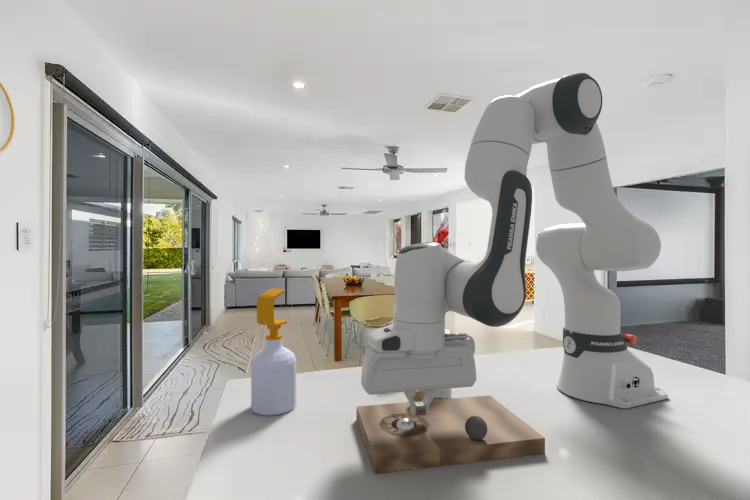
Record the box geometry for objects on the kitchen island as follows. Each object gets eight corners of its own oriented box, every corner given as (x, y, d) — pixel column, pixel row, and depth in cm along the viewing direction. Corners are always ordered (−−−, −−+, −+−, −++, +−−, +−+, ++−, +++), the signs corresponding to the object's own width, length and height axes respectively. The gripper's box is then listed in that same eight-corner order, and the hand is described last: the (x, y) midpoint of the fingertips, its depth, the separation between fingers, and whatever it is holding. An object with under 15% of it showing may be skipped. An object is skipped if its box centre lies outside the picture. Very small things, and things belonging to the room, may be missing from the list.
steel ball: (415, 418, 68) (398, 411, 67) (421, 427, 65) (403, 420, 64) (406, 436, 68) (389, 429, 67) (412, 446, 64) (394, 440, 64)
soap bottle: (304, 402, 81) (304, 288, 81) (276, 420, 73) (276, 292, 73) (271, 395, 85) (271, 286, 85) (241, 411, 77) (241, 290, 77)
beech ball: (425, 400, 76) (425, 380, 76) (432, 409, 72) (432, 388, 72) (406, 402, 75) (406, 382, 75) (412, 410, 71) (412, 389, 71)
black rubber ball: (481, 432, 63) (481, 411, 63) (491, 443, 60) (491, 420, 60) (461, 434, 62) (461, 413, 62) (470, 445, 59) (470, 422, 59)
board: (489, 407, 79) (489, 395, 79) (544, 453, 61) (544, 437, 61) (356, 419, 73) (356, 406, 73) (374, 473, 56) (374, 456, 56)
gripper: (467, 328, 72) (466, 401, 72) (359, 333, 68) (359, 411, 68) (482, 336, 65) (482, 416, 65) (365, 342, 61) (365, 427, 61)
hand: (419, 413), depth 67 cm, fingers closed
